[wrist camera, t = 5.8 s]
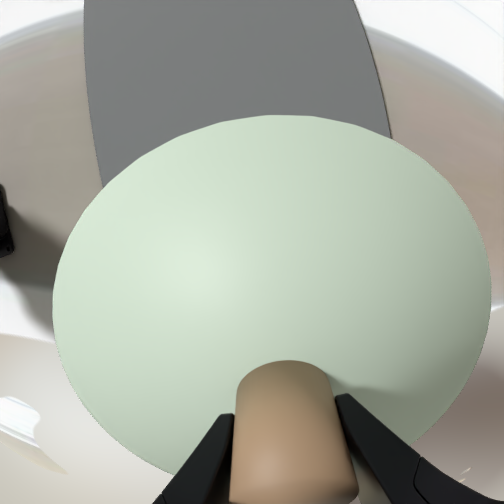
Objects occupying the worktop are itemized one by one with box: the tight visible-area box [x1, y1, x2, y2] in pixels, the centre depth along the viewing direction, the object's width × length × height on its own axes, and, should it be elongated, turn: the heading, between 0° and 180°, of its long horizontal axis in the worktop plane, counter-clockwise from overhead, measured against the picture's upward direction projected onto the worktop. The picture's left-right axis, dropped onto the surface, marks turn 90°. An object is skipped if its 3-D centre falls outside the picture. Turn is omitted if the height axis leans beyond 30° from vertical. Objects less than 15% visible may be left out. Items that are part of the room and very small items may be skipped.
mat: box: [84, 0, 391, 188], centre depth 14 cm, size 19×19×1 cm
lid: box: [52, 115, 491, 504], centre depth 7 cm, size 16×16×5 cm
